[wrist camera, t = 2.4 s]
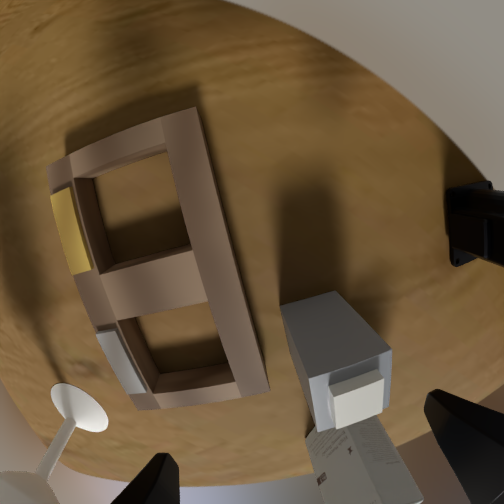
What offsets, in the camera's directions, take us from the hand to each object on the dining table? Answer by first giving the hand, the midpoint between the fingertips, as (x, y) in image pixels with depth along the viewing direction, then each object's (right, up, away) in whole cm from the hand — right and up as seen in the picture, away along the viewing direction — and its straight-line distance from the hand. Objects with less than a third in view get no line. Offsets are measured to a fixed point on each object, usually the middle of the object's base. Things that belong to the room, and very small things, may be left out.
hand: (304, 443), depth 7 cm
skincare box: (+6, -10, +15) cm, 19 cm away
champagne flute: (-19, -9, +13) cm, 24 cm away
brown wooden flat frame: (-8, +5, +10) cm, 14 cm away
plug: (+3, +1, +12) cm, 12 cm away
